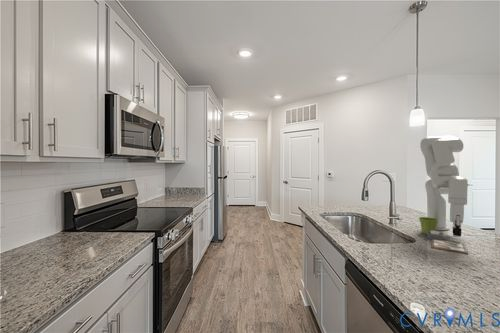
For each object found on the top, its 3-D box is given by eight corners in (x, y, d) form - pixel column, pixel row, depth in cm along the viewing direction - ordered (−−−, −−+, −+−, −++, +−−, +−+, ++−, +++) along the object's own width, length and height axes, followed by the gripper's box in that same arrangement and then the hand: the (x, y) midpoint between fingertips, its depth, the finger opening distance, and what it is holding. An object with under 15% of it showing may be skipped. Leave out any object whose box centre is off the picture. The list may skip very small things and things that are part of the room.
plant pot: (442, 235, 131) (442, 220, 131) (426, 235, 132) (426, 220, 132) (430, 230, 141) (430, 217, 141) (414, 231, 141) (414, 217, 141)
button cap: (430, 234, 129) (430, 229, 129) (439, 235, 127) (439, 231, 127) (430, 235, 126) (430, 231, 126) (439, 237, 124) (439, 232, 124)
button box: (427, 235, 131) (427, 230, 131) (442, 238, 127) (442, 233, 127) (426, 238, 126) (426, 233, 126) (443, 241, 122) (443, 236, 122)
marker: (452, 234, 124) (453, 219, 124) (460, 235, 122) (460, 220, 122) (453, 236, 121) (453, 221, 121) (461, 237, 120) (461, 221, 119)
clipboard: (431, 239, 124) (431, 237, 124) (463, 244, 116) (463, 242, 116) (431, 248, 112) (431, 245, 112) (467, 254, 103) (467, 251, 103)
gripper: (447, 197, 130) (446, 229, 130) (449, 202, 117) (448, 237, 118) (465, 198, 125) (464, 231, 126) (469, 204, 112) (468, 240, 113)
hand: (456, 234), depth 122 cm, fingers closed on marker, 3 cm apart
